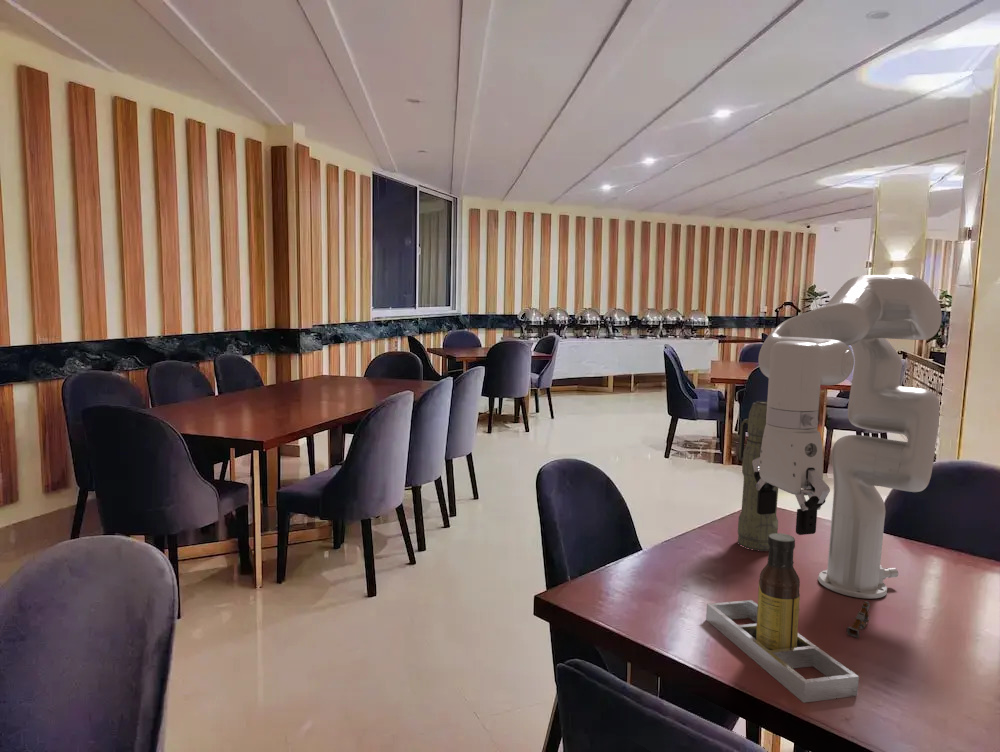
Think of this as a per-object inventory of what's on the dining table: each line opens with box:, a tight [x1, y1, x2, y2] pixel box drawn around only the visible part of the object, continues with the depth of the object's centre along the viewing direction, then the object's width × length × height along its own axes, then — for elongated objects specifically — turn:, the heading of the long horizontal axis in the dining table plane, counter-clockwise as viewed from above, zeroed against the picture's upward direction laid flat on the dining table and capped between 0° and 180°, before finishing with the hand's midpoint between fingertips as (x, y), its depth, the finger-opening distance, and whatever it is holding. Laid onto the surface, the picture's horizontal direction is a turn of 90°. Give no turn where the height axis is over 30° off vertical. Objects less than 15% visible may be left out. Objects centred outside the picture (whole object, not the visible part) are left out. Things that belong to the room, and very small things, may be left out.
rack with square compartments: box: [705, 599, 860, 704], centre depth 109 cm, size 9×26×3 cm, turn 14°
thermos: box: [737, 400, 779, 551], centre depth 158 cm, size 9×12×35 cm
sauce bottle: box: [756, 532, 801, 650], centre depth 108 cm, size 6×6×20 cm
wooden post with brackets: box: [846, 600, 871, 639], centre depth 118 cm, size 2×8×4 cm, turn 135°
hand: (784, 523), depth 107 cm, fingers open, 9 cm apart
